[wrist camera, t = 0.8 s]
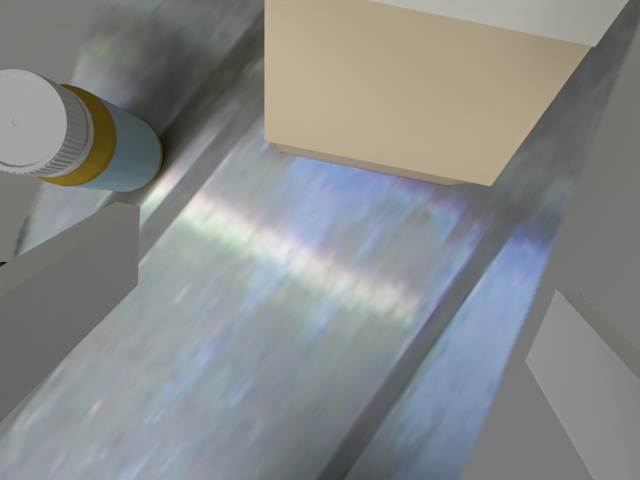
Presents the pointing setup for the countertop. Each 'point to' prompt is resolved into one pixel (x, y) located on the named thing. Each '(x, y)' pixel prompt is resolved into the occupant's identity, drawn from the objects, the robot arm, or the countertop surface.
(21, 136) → the bottle
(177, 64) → the countertop surface
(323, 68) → the flap
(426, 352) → the countertop surface
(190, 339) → the countertop surface
